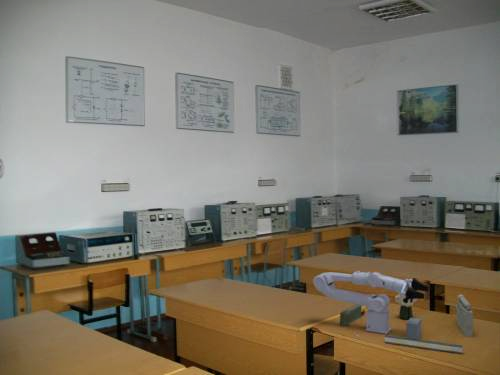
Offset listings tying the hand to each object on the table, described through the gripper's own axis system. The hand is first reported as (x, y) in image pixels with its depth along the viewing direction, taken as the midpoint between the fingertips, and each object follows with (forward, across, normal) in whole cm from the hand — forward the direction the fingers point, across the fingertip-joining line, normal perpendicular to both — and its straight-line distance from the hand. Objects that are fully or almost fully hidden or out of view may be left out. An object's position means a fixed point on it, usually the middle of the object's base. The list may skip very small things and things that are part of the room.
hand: (426, 292), depth 224 cm
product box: (-2, -6, +19) cm, 20 cm away
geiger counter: (+15, +16, +22) cm, 31 cm away
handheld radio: (-32, +5, +27) cm, 42 cm away
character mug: (-11, +20, +26) cm, 35 cm away
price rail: (+4, -18, +15) cm, 24 cm away
